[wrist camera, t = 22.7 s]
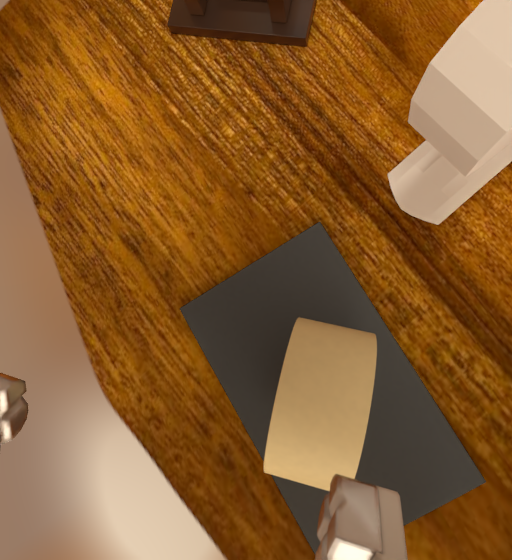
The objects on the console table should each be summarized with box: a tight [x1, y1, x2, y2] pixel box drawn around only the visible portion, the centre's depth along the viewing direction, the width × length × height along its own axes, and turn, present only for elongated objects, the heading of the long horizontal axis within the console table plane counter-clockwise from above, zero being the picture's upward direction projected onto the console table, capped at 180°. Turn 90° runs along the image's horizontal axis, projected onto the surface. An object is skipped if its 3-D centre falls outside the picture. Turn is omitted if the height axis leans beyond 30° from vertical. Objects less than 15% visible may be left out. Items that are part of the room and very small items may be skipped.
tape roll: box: [263, 317, 377, 491], centre depth 25 cm, size 9×5×9 cm, turn 168°
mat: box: [180, 222, 486, 554], centre depth 30 cm, size 20×12×1 cm, turn 31°
